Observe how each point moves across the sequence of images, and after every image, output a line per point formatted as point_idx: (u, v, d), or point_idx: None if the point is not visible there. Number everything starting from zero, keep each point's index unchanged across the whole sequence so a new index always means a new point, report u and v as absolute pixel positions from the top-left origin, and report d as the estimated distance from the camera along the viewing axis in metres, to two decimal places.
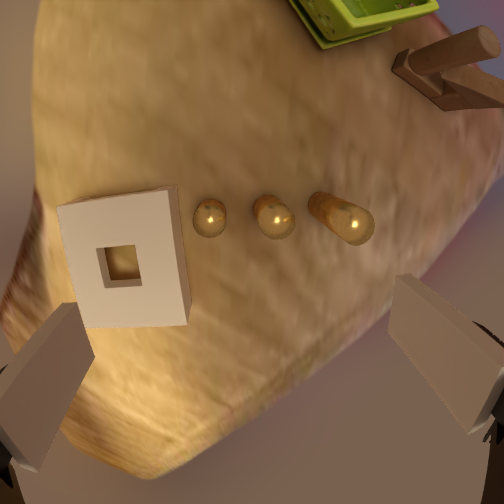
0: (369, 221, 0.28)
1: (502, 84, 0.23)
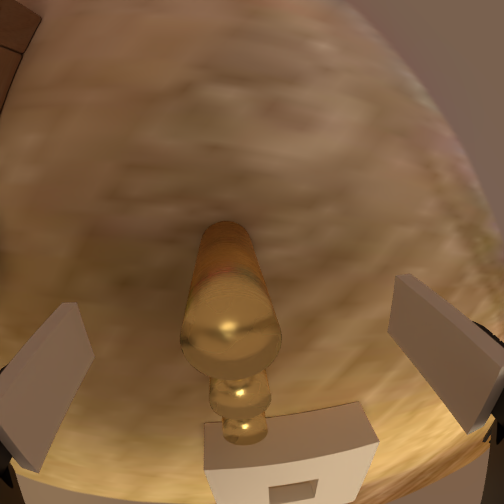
0: (213, 313, 0.10)
1: None
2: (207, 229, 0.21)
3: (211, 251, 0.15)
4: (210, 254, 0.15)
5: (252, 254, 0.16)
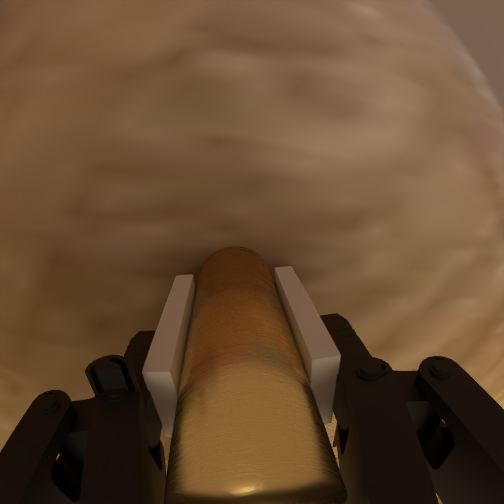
0: (225, 494, 0.04)
1: None
2: (209, 259, 0.15)
3: (214, 315, 0.09)
4: (213, 323, 0.09)
5: (281, 315, 0.10)
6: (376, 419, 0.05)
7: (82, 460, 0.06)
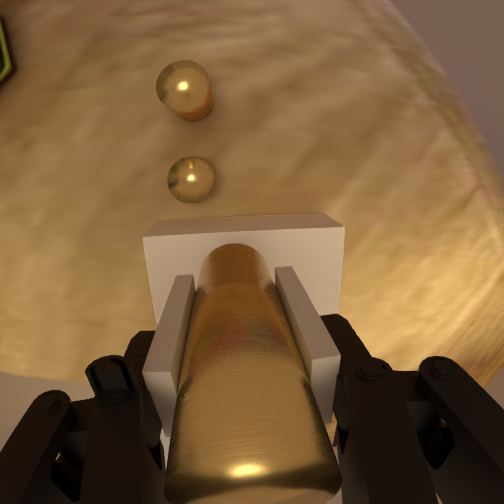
0: (223, 473, 0.04)
1: None
2: (209, 255, 0.15)
3: (214, 307, 0.09)
4: (213, 314, 0.09)
5: (278, 307, 0.10)
6: (376, 419, 0.05)
7: (82, 460, 0.06)
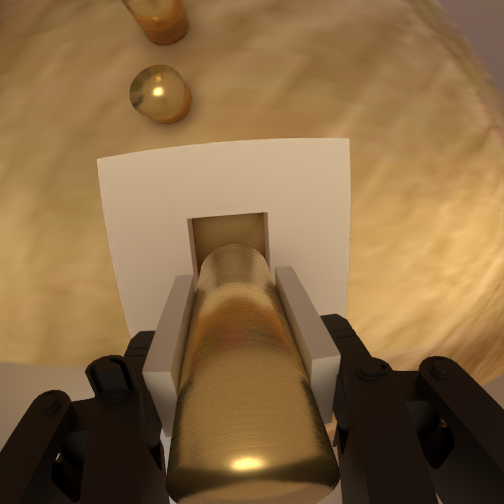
0: (224, 467, 0.04)
1: None
2: (209, 255, 0.15)
3: (215, 306, 0.10)
4: (213, 313, 0.09)
5: (278, 306, 0.11)
6: (376, 419, 0.05)
7: (82, 460, 0.06)
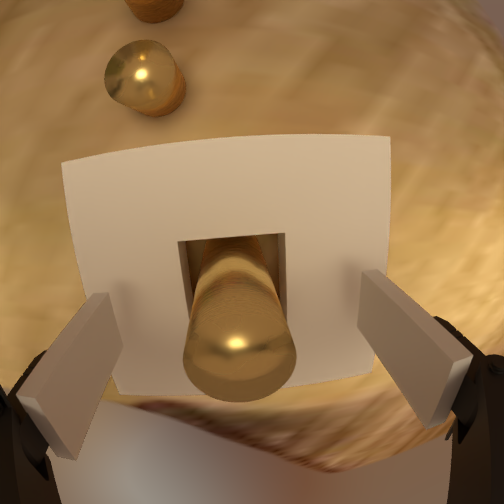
0: (220, 332, 0.09)
1: None
2: None
3: (217, 257, 0.14)
4: (216, 261, 0.14)
5: (262, 260, 0.15)
6: (502, 408, 0.04)
7: None
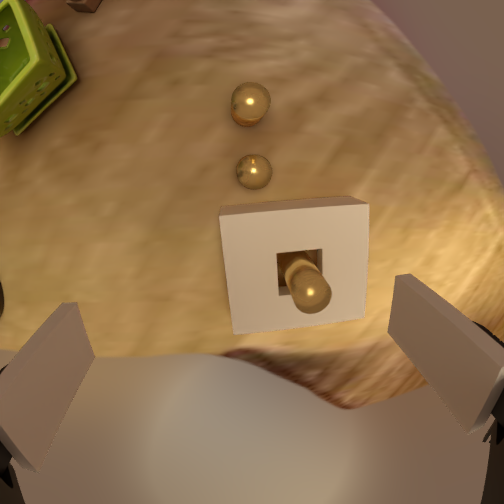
0: (307, 285, 0.27)
1: None
2: None
3: (294, 259, 0.33)
4: (294, 261, 0.32)
5: None
6: None
7: None
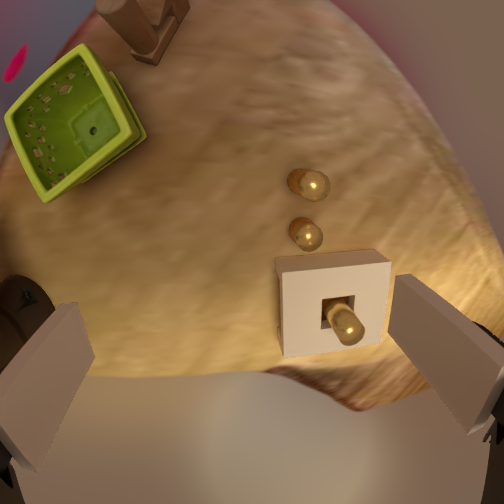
0: (349, 326, 0.37)
1: None
2: None
3: (335, 304, 0.42)
4: (335, 305, 0.41)
5: (346, 303, 0.43)
6: None
7: None
